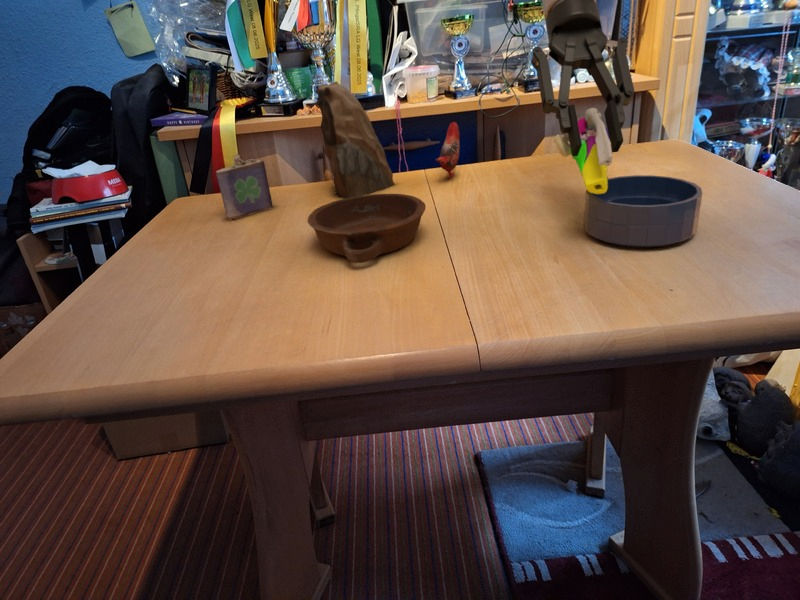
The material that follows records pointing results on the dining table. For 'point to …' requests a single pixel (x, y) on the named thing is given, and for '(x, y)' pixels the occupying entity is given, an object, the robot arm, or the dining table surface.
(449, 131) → the decorative bird figurine
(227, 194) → the flask
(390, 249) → the dish
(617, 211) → the bowl
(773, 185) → the dining table surface
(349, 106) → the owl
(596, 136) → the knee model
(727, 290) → the dining table surface
